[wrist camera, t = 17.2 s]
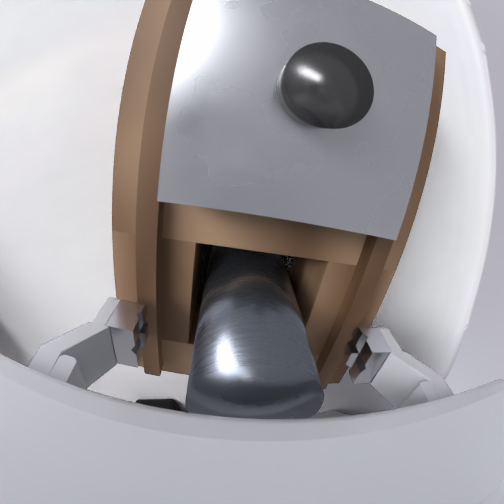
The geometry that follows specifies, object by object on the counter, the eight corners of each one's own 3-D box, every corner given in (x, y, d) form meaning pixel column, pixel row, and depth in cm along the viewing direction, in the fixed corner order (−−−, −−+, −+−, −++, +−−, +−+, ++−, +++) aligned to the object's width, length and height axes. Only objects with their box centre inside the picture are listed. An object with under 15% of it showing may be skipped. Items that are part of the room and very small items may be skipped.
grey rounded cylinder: (207, 280, 17) (185, 430, 8) (215, 218, 15) (186, 356, 6) (272, 289, 17) (300, 436, 8) (287, 229, 15) (345, 367, 6)
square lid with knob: (177, 182, 9) (143, 215, 6) (212, -1, 6) (200, -57, 3) (364, 214, 10) (416, 257, 7) (398, 48, 7) (459, 29, 4)
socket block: (147, 309, 17) (122, 373, 12) (178, 18, 10) (148, -32, 5) (320, 329, 19) (342, 393, 14) (392, 65, 11) (456, 49, 6)
